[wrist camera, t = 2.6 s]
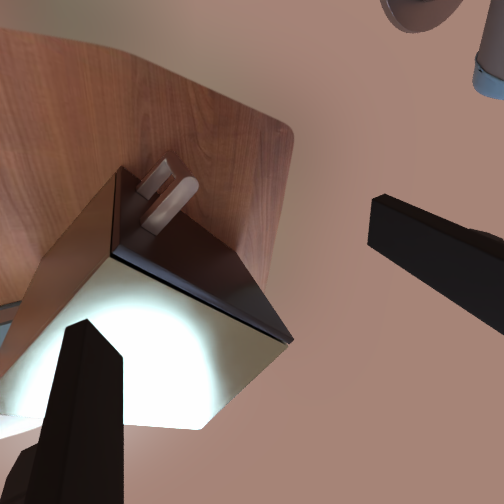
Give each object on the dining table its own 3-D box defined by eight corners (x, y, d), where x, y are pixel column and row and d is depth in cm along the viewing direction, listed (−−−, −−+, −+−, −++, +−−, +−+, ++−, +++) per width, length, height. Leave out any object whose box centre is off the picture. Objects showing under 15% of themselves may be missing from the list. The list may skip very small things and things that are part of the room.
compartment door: (152, 128, 36) (182, 173, 18) (259, 228, 52) (331, 304, 34) (116, 170, 37) (111, 253, 19) (232, 256, 53) (289, 344, 35)
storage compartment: (115, 171, 37) (108, 256, 19) (231, 256, 53) (288, 346, 35) (40, 259, 39) (-31, 413, 21) (174, 315, 55) (199, 429, 37)
